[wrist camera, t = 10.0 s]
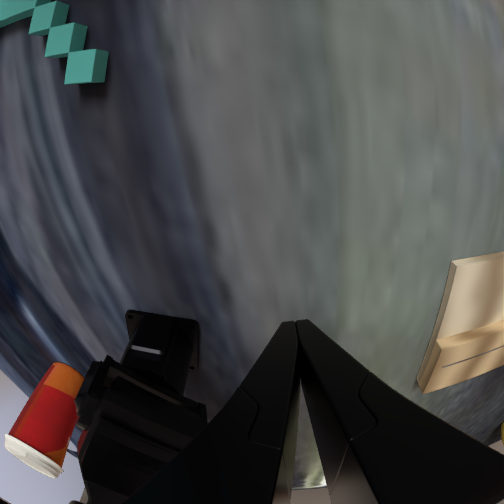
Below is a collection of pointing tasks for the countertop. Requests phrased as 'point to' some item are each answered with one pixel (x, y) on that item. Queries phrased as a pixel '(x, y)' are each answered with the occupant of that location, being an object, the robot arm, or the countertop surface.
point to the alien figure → (59, 37)
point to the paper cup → (47, 421)
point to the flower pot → (502, 432)
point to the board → (467, 324)
